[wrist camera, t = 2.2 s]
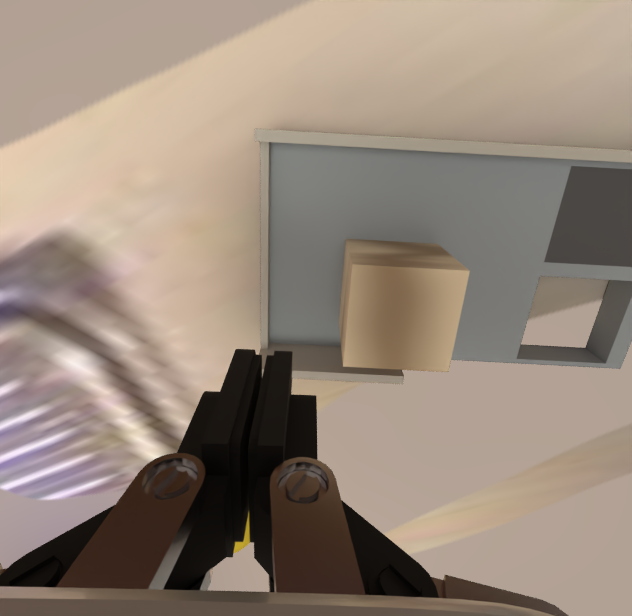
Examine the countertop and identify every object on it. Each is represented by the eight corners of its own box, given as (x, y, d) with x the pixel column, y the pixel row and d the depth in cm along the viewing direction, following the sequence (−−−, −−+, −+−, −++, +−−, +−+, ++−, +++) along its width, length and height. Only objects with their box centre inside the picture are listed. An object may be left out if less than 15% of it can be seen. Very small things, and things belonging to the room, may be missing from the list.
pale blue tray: (673, 155, 21) (770, 157, 17) (598, 352, 26) (659, 397, 21) (267, 131, 21) (252, 128, 16) (266, 335, 26) (254, 376, 21)
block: (437, 243, 21) (470, 270, 17) (423, 327, 23) (448, 372, 19) (345, 238, 21) (352, 264, 17) (338, 322, 23) (343, 366, 18)
